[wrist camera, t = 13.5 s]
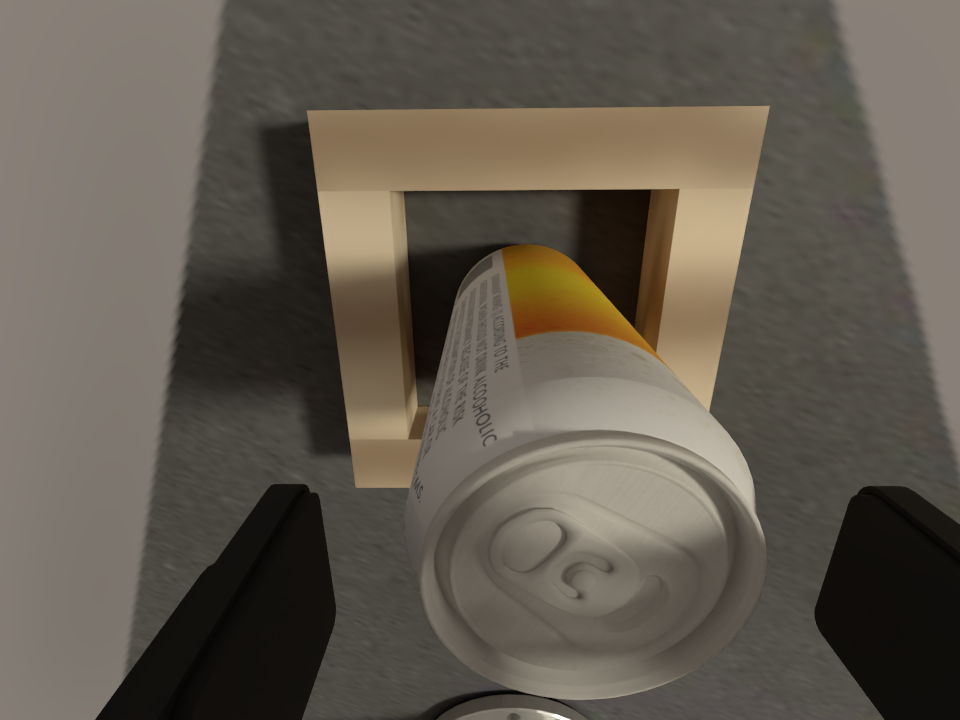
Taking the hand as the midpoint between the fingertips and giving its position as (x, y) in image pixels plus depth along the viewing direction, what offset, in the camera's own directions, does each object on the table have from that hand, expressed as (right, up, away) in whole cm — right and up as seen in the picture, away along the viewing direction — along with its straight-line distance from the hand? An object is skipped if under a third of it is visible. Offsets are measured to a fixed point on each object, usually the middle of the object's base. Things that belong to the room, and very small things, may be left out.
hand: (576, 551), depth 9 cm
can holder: (0, +6, +13) cm, 14 cm away
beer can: (0, +6, +13) cm, 14 cm away
